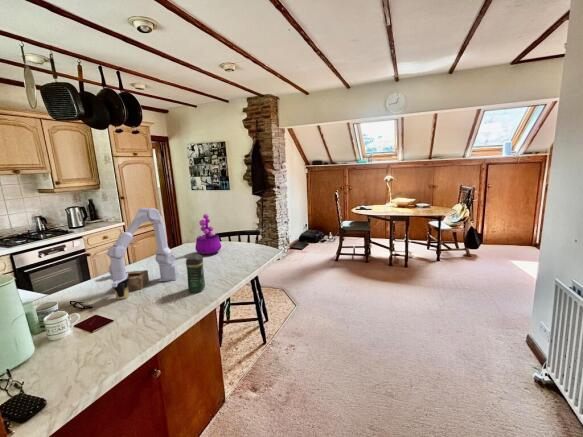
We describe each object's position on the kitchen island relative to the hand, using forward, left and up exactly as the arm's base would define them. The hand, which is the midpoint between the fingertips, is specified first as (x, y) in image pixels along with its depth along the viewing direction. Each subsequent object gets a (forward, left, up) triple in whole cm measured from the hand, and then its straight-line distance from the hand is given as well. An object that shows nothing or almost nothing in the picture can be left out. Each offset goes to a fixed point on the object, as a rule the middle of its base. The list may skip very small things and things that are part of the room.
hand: (122, 295), depth 146 cm
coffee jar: (-36, -2, -2) cm, 36 cm away
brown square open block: (0, -15, -1) cm, 15 cm away
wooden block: (0, 0, -1) cm, 1 cm away
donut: (+16, -34, -2) cm, 38 cm away
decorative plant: (-34, -70, -2) cm, 78 cm away
